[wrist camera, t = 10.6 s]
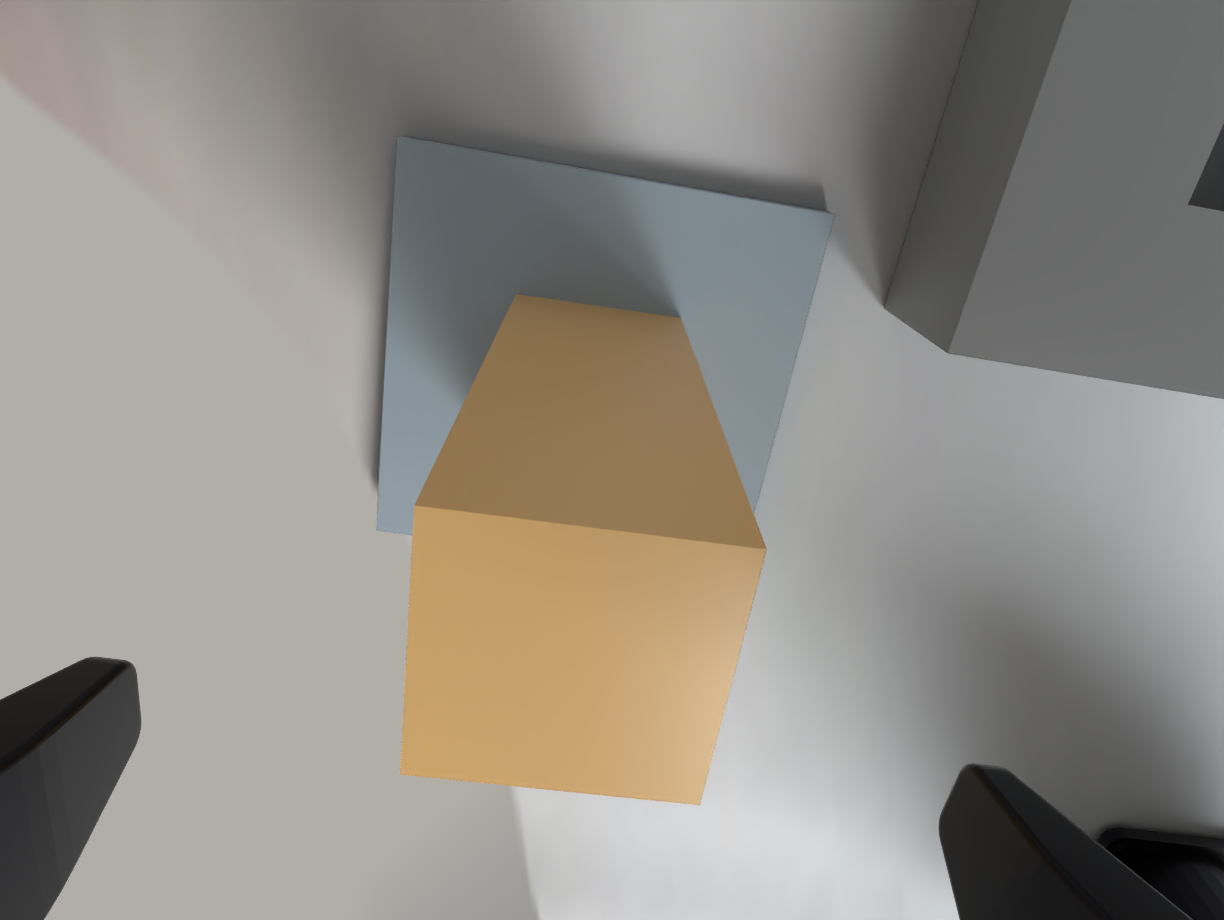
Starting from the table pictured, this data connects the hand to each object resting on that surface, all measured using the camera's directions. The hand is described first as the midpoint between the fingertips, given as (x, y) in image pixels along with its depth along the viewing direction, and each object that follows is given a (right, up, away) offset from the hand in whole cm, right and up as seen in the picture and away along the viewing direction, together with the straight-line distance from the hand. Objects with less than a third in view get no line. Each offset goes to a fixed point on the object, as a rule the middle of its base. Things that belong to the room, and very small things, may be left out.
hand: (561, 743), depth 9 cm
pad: (0, +5, +12) cm, 13 cm away
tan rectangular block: (0, +5, +11) cm, 12 cm away
